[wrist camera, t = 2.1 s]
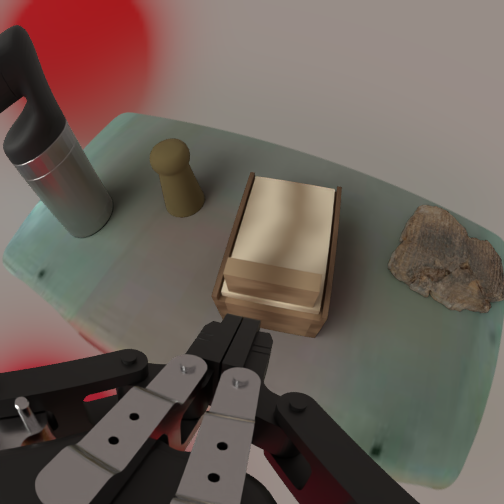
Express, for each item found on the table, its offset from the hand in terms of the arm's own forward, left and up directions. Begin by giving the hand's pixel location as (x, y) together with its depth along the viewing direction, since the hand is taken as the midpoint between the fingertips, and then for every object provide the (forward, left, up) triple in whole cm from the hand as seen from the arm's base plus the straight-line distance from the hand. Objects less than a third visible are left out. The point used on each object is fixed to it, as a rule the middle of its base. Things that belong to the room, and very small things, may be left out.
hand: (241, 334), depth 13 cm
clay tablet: (+25, +19, -22) cm, 38 cm away
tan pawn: (-16, +22, -22) cm, 35 cm away
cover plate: (0, +14, -15) cm, 20 cm away
